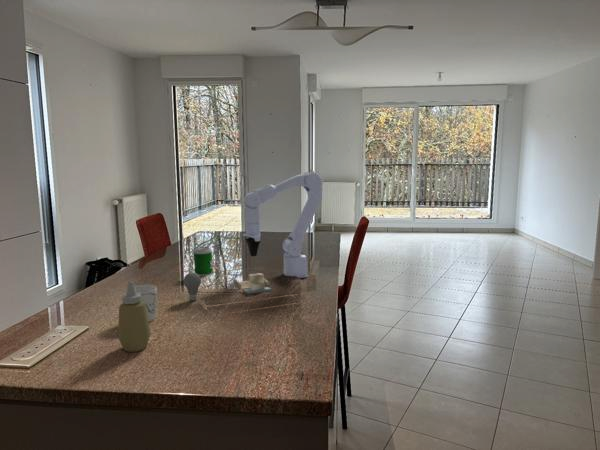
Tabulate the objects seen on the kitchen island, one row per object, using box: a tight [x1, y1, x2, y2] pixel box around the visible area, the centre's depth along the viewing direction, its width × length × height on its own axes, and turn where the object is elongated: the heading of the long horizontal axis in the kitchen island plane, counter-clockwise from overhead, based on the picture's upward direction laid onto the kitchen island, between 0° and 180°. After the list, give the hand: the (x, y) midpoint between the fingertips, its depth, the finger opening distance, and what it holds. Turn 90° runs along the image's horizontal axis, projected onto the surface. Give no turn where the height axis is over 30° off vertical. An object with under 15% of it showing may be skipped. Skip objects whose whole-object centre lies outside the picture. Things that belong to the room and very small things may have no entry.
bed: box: [232, 277, 270, 290], centre depth 171 cm, size 12×10×2 cm
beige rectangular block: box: [248, 272, 266, 291], centre depth 163 cm, size 4×4×6 cm
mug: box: [134, 284, 158, 323], centre depth 136 cm, size 11×8×10 cm
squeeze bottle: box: [117, 281, 151, 353], centre depth 116 cm, size 8×8×18 cm
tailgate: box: [243, 286, 273, 295], centre depth 163 cm, size 9×1×6 cm
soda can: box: [193, 246, 214, 277], centre depth 187 cm, size 8×8×12 cm
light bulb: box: [182, 271, 202, 302], centre depth 155 cm, size 6×6×10 cm
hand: (253, 255), depth 180 cm, fingers closed
